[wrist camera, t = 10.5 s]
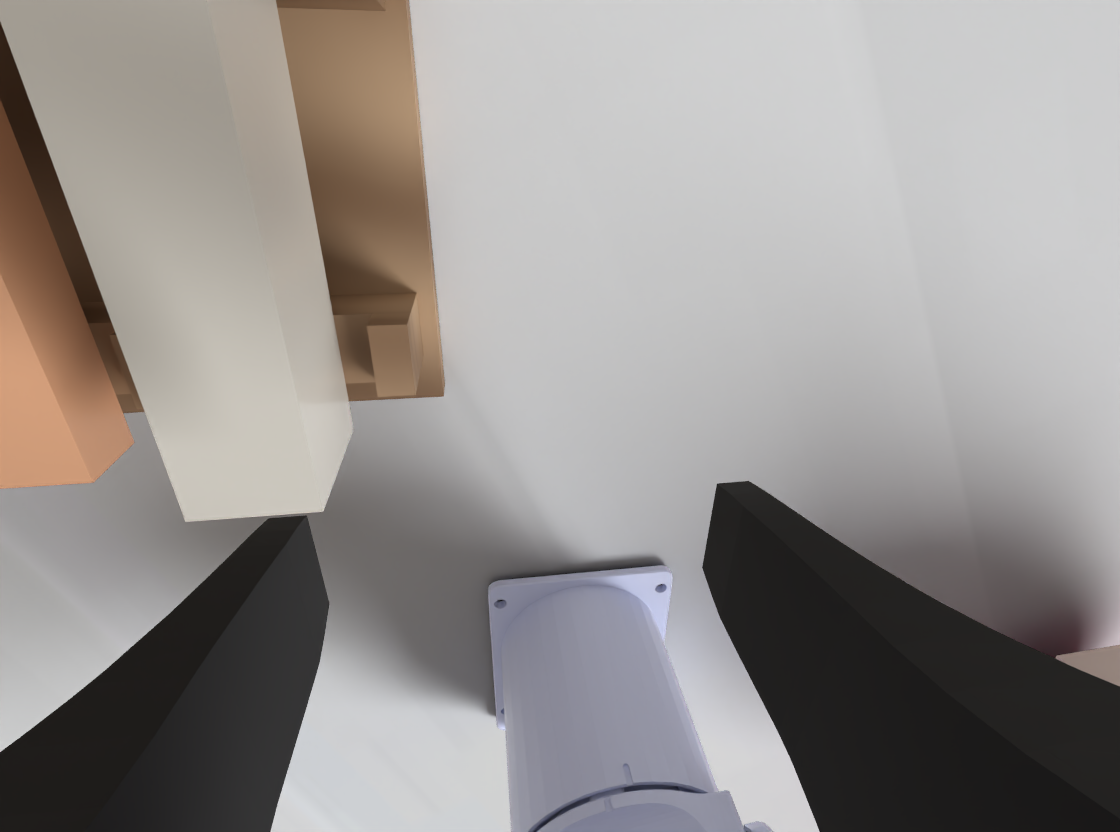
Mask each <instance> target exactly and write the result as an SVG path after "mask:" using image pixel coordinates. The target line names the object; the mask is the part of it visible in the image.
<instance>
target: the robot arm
mask: <svg viewBox="0 0 1120 832" xmlns="http://www.w3.org/2000/svg"><path fill="white" fill-rule="evenodd" d="M702 568H703V571H704V574H705V577H706V580H707V583H708V585H709V588H710V591H711V594H712V597H713V600H714V602H715V605H716V608H717V610H718V613H719V616H720V618H721V620H722V622H723V624H724V626H725V629H726V631H727V633H728V635H729V637H730V639H731V641H732V643H733V645H734V647H735V649H736V651H737V653H738V654H739V656H740V658H741V660H742V662H743V664H744V666H745V668H746V670H747V672H748V674H749V676H750V678H751V680H752V682H753V684H754V686H755V688H756V690H757V692H758V694H759V696H760V698H761V699H762V701H763V703H764V705H765V707H766V709H767V711H768V713H769V715H770V717H771V719H772V721H773V723H774V725H775V727H776V729H777V731H778V733H779V735H780V737H781V739H782V741H783V743H784V746H785V748H786V750H787V752H788V754H789V756H790V758H791V761H792V763H793V765H794V768H795V770H796V773H797V775H798V778H799V780H800V783H801V785H802V788H803V790H804V793H805V795H806V798H807V801H808V803H809V806H810V808H811V811H812V813H813V816H814V818H815V821H816V823H817V826H818V828H819V831H820V832H1120V686H1118V685H1115V684H1113V683H1110V682H1108V681H1106V680H1103V679H1101V678H1098V677H1096V676H1093V675H1091V674H1089V673H1086V672H1084V671H1082V670H1079V669H1077V668H1075V667H1073V666H1070V665H1068V664H1066V663H1064V662H1061V661H1059V660H1057V659H1055V658H1053V657H1050V656H1048V655H1046V654H1044V653H1041V652H1039V651H1037V650H1035V649H1033V648H1030V647H1028V646H1026V645H1024V644H1022V643H1019V642H1017V641H1015V640H1013V639H1011V638H1009V637H1007V636H1005V635H1003V634H1001V633H999V632H997V631H995V630H993V629H991V628H989V627H987V626H985V625H983V624H981V623H979V622H977V621H975V620H973V619H971V618H969V617H967V616H966V615H964V614H962V613H960V612H958V611H956V610H954V609H952V608H950V607H948V606H946V605H944V604H942V603H941V602H939V601H937V600H935V599H933V598H932V597H930V596H928V595H926V594H924V593H923V592H921V591H919V590H917V589H916V588H914V587H912V586H911V585H909V584H907V583H906V582H904V581H902V580H901V579H899V578H897V577H896V576H894V575H892V574H891V573H889V572H887V571H886V570H884V569H882V568H880V567H879V566H877V565H876V564H874V563H872V562H871V561H869V560H868V559H866V558H865V557H863V556H861V555H860V554H858V553H857V552H855V551H854V550H852V549H850V548H849V547H847V546H846V545H844V544H843V543H841V542H840V541H838V540H837V539H835V538H834V537H832V536H831V535H829V534H828V533H826V532H825V531H823V530H822V529H820V528H819V527H817V526H816V525H814V524H813V523H811V522H810V521H808V520H807V519H805V518H804V517H802V516H801V515H800V514H798V513H797V512H795V511H794V510H792V509H791V508H789V507H788V506H786V505H785V504H783V503H782V502H780V501H779V500H777V499H776V498H774V497H773V496H771V495H770V494H768V493H767V492H765V491H764V490H762V489H761V488H759V487H757V486H756V485H754V484H752V483H751V482H749V481H745V482H732V483H719V484H717V487H716V493H715V498H714V504H713V510H712V516H711V521H710V527H709V533H708V538H707V544H706V550H705V556H704V561H703V567H702ZM672 581H673V575H672V572H671V570H670V569H669V567H667V566H663V565H659V566H649V567H638V568H627V569H616V570H605V571H595V572H584V573H573V574H562V575H551V576H541V577H530V578H519V579H508V580H499V581H495V582H493V583H491V584H490V586H489V587H488V603H489V618H490V632H491V647H492V662H493V676H494V691H495V706H496V721H497V727H498V728H499V729H501V730H505V732H506V749H507V766H508V784H509V801H510V819H511V832H773V831H772V830H771V828H770V827H769V826H768V825H766V824H765V823H764V822H759V821H756V822H752V823H749V824H745V825H744V828H743V825H742V823H741V820H740V817H739V815H738V812H737V810H736V807H735V804H734V802H733V799H732V797H731V794H730V792H729V791H727V790H724V791H720V792H719V791H718V788H717V785H716V783H715V780H714V777H713V775H712V772H711V769H710V766H709V764H708V761H707V758H706V756H705V753H704V750H703V747H702V745H701V742H700V739H699V737H698V734H697V731H696V728H695V726H694V723H693V720H692V717H691V715H690V712H689V709H688V707H687V704H686V701H685V698H684V696H683V693H682V690H681V688H680V685H679V682H678V679H677V677H676V674H675V671H674V669H673V666H672V663H671V660H670V658H669V655H668V652H667V650H666V647H665V644H664V641H665V634H666V626H667V619H668V611H669V604H670V596H671V588H672ZM659 584H662V585H661V586H657V585H659ZM500 599H502V600H504V601H501V602H498V601H497V600H500ZM328 609H329V601H328V597H327V593H326V589H325V585H324V581H323V577H322V573H321V569H320V566H319V562H318V558H317V554H316V550H315V546H314V542H313V538H312V534H311V530H310V526H309V523H308V519H307V516H295V517H282V518H269V519H267V520H266V521H265V522H264V523H263V524H262V525H261V526H260V527H259V528H258V529H257V530H256V531H255V532H254V533H253V534H252V535H251V536H250V537H248V538H247V539H246V540H245V541H244V542H243V543H242V544H241V545H240V546H239V547H238V548H237V549H236V550H235V551H234V552H233V553H232V554H231V555H230V556H229V557H228V558H227V559H226V560H225V561H224V562H223V563H222V564H221V565H220V566H219V567H218V568H217V569H216V570H215V571H214V572H213V573H212V574H211V575H210V576H209V577H208V578H207V579H206V580H205V581H203V582H202V583H201V584H200V585H199V586H198V587H197V588H196V589H195V590H194V591H193V592H192V593H191V594H190V595H189V596H188V597H187V598H186V599H185V600H184V601H182V602H181V603H180V604H179V605H178V606H177V607H176V608H175V609H174V610H173V611H172V612H171V613H170V614H169V615H168V616H166V617H165V618H164V619H163V620H162V621H161V622H160V623H158V624H157V625H156V626H155V627H154V628H153V629H152V630H151V631H149V632H148V633H147V634H146V635H145V636H144V637H143V638H141V639H140V640H139V641H138V642H137V643H136V644H135V645H133V646H132V647H131V648H130V649H129V650H128V651H127V652H126V653H124V654H123V655H122V656H121V657H120V658H119V659H118V660H116V661H115V662H114V663H113V664H112V665H111V666H110V667H109V668H107V669H106V670H105V671H104V672H103V673H101V674H100V675H99V676H98V677H97V678H95V679H94V680H93V681H92V682H91V683H89V684H88V685H87V686H86V687H84V688H83V689H82V690H81V691H79V692H78V693H77V694H76V695H74V696H73V697H72V698H71V699H69V700H68V701H67V702H66V703H64V704H63V705H62V706H60V707H59V708H58V709H57V710H55V711H54V712H53V713H51V714H50V715H49V716H47V717H46V718H45V719H44V720H42V721H41V722H40V723H38V724H37V725H36V726H34V727H33V728H32V729H31V730H29V731H28V732H27V733H25V734H24V735H23V736H21V737H20V738H19V739H17V740H16V741H15V742H13V743H12V744H11V745H9V746H8V747H7V748H5V749H4V750H3V751H1V752H0V832H270V831H271V827H272V823H273V819H274V815H275V811H276V807H277V804H278V800H279V797H280V793H281V790H282V787H283V784H284V780H285V777H286V774H287V770H288V767H289V764H290V760H291V757H292V754H293V750H294V747H295V744H296V740H297V737H298V734H299V730H300V727H301V724H302V720H303V717H304V714H305V710H306V707H307V704H308V700H309V697H310V693H311V690H312V687H313V683H314V680H315V676H316V673H317V669H318V666H319V662H320V657H321V651H322V646H323V640H324V635H325V628H326V622H327V615H328Z"/></svg>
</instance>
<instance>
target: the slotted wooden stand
mask: <svg viewBox="0 0 1120 832" xmlns="http://www.w3.org/2000/svg"><path fill="white" fill-rule="evenodd" d="M276 4H277V10H278V15H279V21H280V26H281V32H282V37H283V43H284V48H285V54H286V59H287V65H288V70H289V76H290V81H291V87H292V92H293V98H294V103H295V109H296V114H297V119H298V125H299V130H300V136H301V141H302V147H303V152H304V158H305V163H306V169H307V174H308V180H309V185H310V191H311V196H312V202H313V207H314V213H315V218H316V224H317V229H318V235H319V240H320V246H321V251H322V257H323V262H324V268H325V273H326V279H327V284H328V290H329V295H330V301H331V306H332V312H333V317H334V323H335V328H336V334H337V339H338V345H339V350H340V356H341V361H342V367H343V372H344V378H345V383H346V389H347V394H348V400H349V401H364V400H383V399H403V398H422V397H441V396H444V387H445V381H444V370H443V360H442V349H441V338H440V328H439V317H438V306H437V296H436V285H435V274H434V263H433V253H432V242H431V231H430V221H429V210H428V199H427V189H426V178H425V167H424V157H423V146H422V135H421V125H420V114H419V103H418V93H417V82H416V71H415V61H414V50H413V39H412V28H411V18H410V7H409V0H276ZM0 100H1V102H2V105H3V107H4V110H5V112H6V115H7V117H8V120H9V123H10V125H11V128H12V130H13V133H14V135H15V138H16V141H17V143H18V146H19V148H20V151H21V153H22V156H23V158H24V161H25V164H26V166H27V169H28V171H29V174H30V176H31V179H32V181H33V184H34V187H35V189H36V192H37V194H38V197H39V199H40V202H41V205H42V207H43V210H44V212H45V215H46V217H47V220H48V222H49V225H50V228H51V230H52V233H53V235H54V238H55V240H56V243H57V246H58V248H59V251H60V253H61V256H62V258H63V261H64V263H65V266H66V269H67V271H68V274H69V276H70V279H71V281H72V284H73V287H74V289H75V292H76V294H77V297H78V299H79V302H80V304H81V307H82V310H83V312H84V315H85V317H86V320H87V322H88V325H89V328H90V330H91V333H92V335H93V338H94V340H95V343H96V345H97V348H98V351H99V353H100V356H101V358H102V361H103V363H104V366H105V368H106V371H107V374H108V376H109V379H110V381H111V384H112V386H113V389H114V392H115V394H116V397H117V399H118V402H119V404H120V407H121V409H122V412H123V413H132V412H145V411H144V408H143V406H142V403H141V400H140V398H139V395H138V392H137V389H136V387H135V384H134V381H133V379H132V376H131V373H130V371H129V368H128V365H127V362H126V360H125V357H124V354H123V352H122V349H121V346H120V344H119V341H118V338H117V335H116V333H115V330H114V327H113V325H112V322H111V319H110V317H109V314H108V311H107V308H106V306H105V303H104V300H103V298H102V295H101V292H100V290H99V287H98V284H97V281H96V279H95V276H94V273H93V271H92V268H91V265H90V262H89V260H88V257H87V254H86V252H85V249H84V246H83V244H82V241H81V238H80V235H79V233H78V230H77V227H76V225H75V222H74V219H73V217H72V214H71V211H70V208H69V206H68V203H67V200H66V198H65V195H64V192H63V190H62V187H61V184H60V181H59V179H58V176H57V173H56V171H55V168H54V165H53V162H52V160H51V157H50V154H49V152H48V149H47V146H46V144H45V141H44V138H43V135H42V133H41V130H40V127H39V125H38V122H37V119H36V117H35V114H34V111H33V108H32V106H31V103H30V100H29V98H28V95H27V92H26V90H25V87H24V84H23V81H22V79H21V76H20V73H19V71H18V68H17V65H16V63H15V60H14V57H13V54H12V52H11V49H10V46H9V44H8V41H7V38H6V35H5V33H4V30H3V27H2V25H1V22H0Z"/></svg>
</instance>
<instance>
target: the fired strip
mask: <svg viewBox="0 0 1120 832" xmlns="http://www.w3.org/2000/svg"><path fill="white" fill-rule="evenodd" d="M133 444H134V440H133V438H132V435H131V433H130V430H129V427H128V425H127V422H126V420H125V417H124V415H123V412H122V409H121V407H120V404H119V402H118V399H117V397H116V394H115V392H114V389H113V386H112V384H111V381H110V379H109V376H108V374H107V371H106V368H105V366H104V363H103V361H102V358H101V356H100V353H99V351H98V348H97V345H96V343H95V340H94V338H93V335H92V333H91V330H90V328H89V325H88V322H87V320H86V317H85V315H84V312H83V310H82V307H81V304H80V302H79V299H78V297H77V294H76V292H75V289H74V287H73V284H72V281H71V279H70V276H69V274H68V271H67V269H66V266H65V263H64V261H63V258H62V256H61V253H60V251H59V248H58V246H57V243H56V240H55V238H54V235H53V233H52V230H51V228H50V225H49V222H48V220H47V217H46V215H45V212H44V210H43V207H42V205H41V202H40V199H39V197H38V194H37V192H36V189H35V187H34V184H33V181H32V179H31V176H30V174H29V171H28V169H27V166H26V164H25V161H24V158H23V156H22V153H21V151H20V148H19V146H18V143H17V141H16V138H15V135H14V133H13V130H12V128H11V125H10V123H9V120H8V117H7V115H6V112H5V110H4V107H3V105H2V102H1V100H0V489H4V488H19V487H34V486H49V485H65V484H80V483H94V482H95V481H96V480H97V479H98V478H99V477H100V476H101V475H102V474H103V473H104V472H105V471H106V470H107V469H108V468H109V467H110V466H111V465H112V464H113V463H114V462H115V461H116V460H117V459H118V458H119V457H120V456H121V455H122V454H123V453H124V452H125V451H126V450H128V449H129V448H130V447H131V446H132V445H133Z"/></svg>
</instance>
